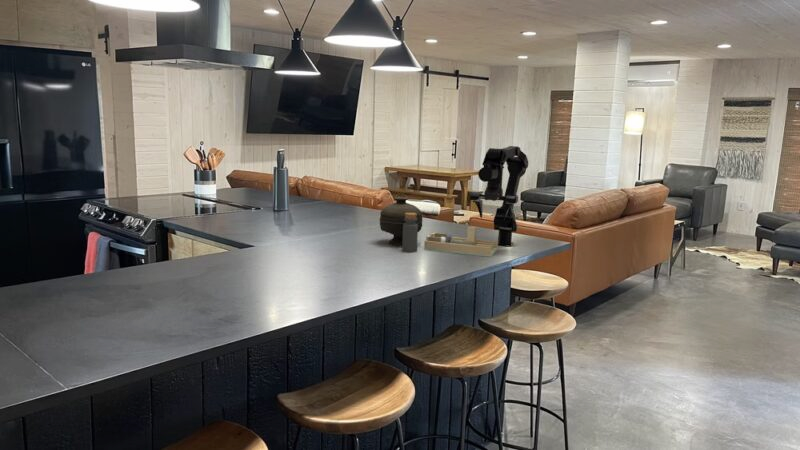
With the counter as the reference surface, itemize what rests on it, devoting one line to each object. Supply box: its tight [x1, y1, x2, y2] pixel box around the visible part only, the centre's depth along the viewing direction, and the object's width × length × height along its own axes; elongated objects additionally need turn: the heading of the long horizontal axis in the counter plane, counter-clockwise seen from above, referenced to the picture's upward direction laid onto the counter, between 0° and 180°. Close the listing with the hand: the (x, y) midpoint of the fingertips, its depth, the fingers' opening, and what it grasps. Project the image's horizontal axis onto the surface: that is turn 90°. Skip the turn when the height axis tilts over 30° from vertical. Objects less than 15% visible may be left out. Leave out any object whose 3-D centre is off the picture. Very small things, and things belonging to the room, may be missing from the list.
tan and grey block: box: [446, 225, 478, 246], centre depth 235 cm, size 5×12×8 cm, turn 70°
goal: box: [425, 232, 448, 242], centre depth 238 cm, size 10×6×4 cm, turn 160°
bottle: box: [401, 213, 419, 253], centre depth 229 cm, size 6×6×15 cm
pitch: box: [423, 236, 499, 258], centre depth 235 cm, size 14×27×4 cm, turn 70°
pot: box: [379, 196, 423, 247], centre depth 242 cm, size 18×18×20 cm
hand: (492, 218), depth 234 cm, fingers open, 9 cm apart
